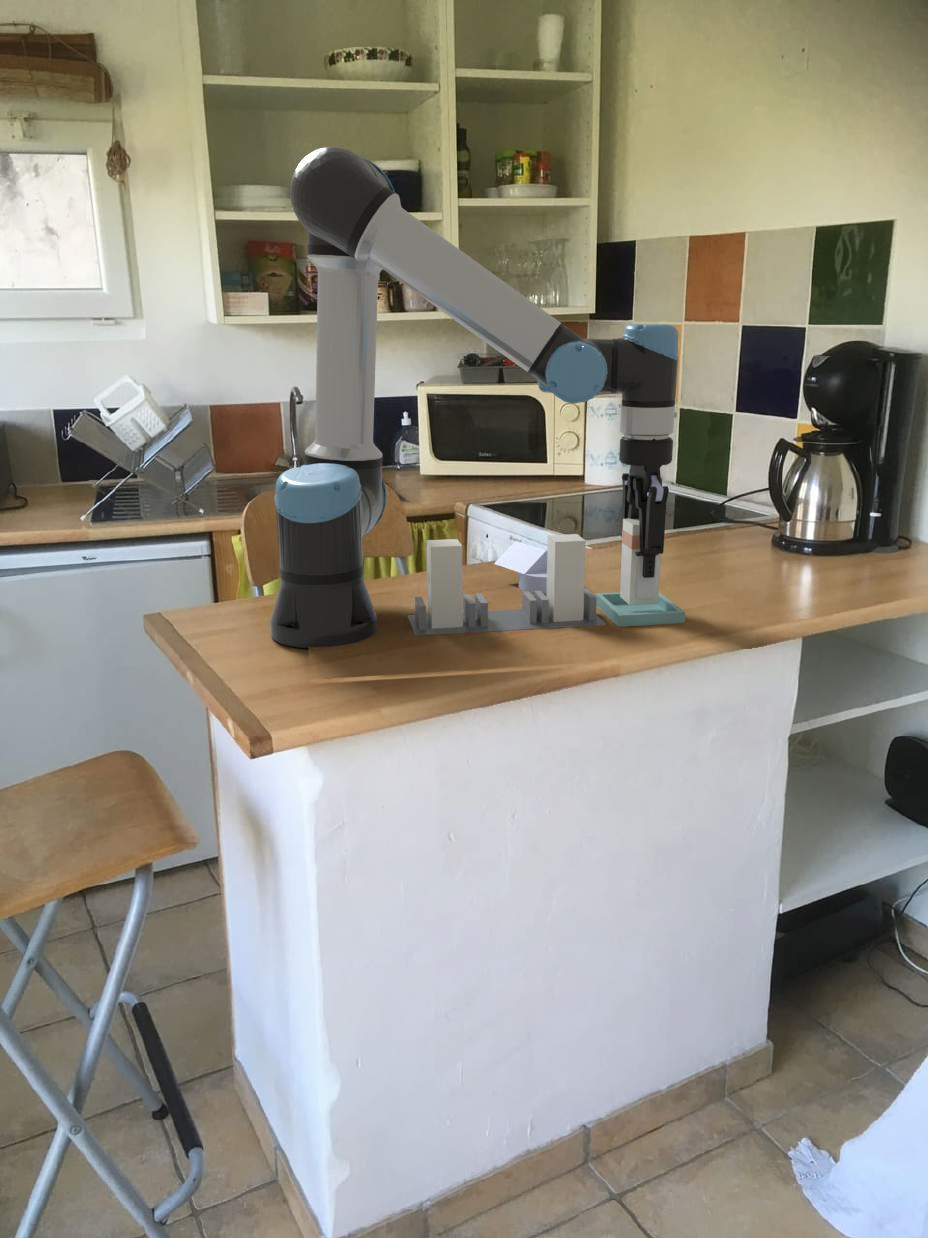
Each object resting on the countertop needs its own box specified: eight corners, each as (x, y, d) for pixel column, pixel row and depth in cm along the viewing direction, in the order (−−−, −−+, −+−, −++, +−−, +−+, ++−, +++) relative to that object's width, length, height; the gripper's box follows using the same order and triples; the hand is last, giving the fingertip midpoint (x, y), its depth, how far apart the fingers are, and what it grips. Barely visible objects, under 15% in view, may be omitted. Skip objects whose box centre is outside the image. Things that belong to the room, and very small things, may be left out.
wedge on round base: (493, 582, 173) (540, 600, 162) (493, 544, 171) (541, 559, 160) (535, 575, 177) (584, 591, 167) (536, 537, 175) (585, 551, 165)
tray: (618, 629, 147) (619, 615, 147) (594, 606, 159) (595, 593, 158) (684, 625, 149) (685, 612, 148) (656, 603, 160) (657, 590, 160)
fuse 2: (553, 621, 149) (555, 541, 146) (546, 613, 154) (547, 535, 150) (583, 620, 150) (585, 540, 146) (575, 611, 154) (577, 534, 151)
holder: (415, 638, 144) (414, 611, 142) (407, 618, 153) (406, 592, 152) (606, 628, 148) (607, 601, 147) (587, 608, 157) (588, 583, 156)
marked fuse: (629, 604, 150) (632, 524, 147) (619, 596, 155) (622, 518, 151) (658, 603, 151) (663, 523, 148) (648, 594, 155) (652, 517, 152)
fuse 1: (431, 628, 146) (430, 547, 143) (427, 619, 151) (426, 540, 147) (462, 626, 147) (462, 545, 144) (457, 617, 151) (457, 539, 148)
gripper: (694, 442, 138) (684, 607, 145) (651, 428, 155) (643, 576, 162) (641, 444, 137) (633, 610, 144) (603, 429, 153) (598, 579, 160)
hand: (639, 592), depth 153 cm, fingers closed on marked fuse, 4 cm apart
